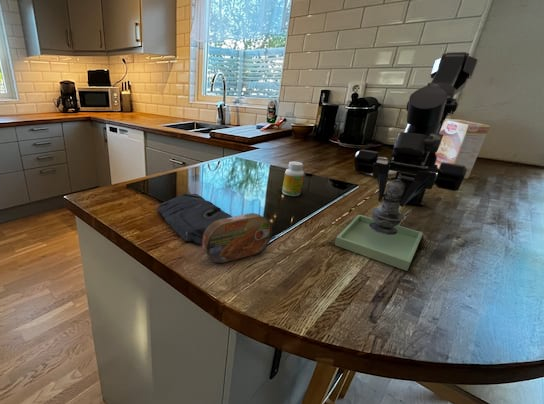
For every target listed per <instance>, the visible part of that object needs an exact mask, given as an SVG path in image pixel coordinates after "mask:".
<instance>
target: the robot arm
mask: <svg viewBox="0 0 544 404" xmlns="http://www.w3.org/2000/svg"><path fill="white" fill-rule="evenodd" d="M477 63H478V59H477V58H475V57H473V56H471V55H470V52H466V51H460V52H459V51H457V52H455V51H454V52H452V51H451V52H446V53H442V55H441V57H439V58H437V59H435V61H434V63H433V66H432V69H431V72H430V78H431V79H432V80H431V81H430V82H428V83H427V85H425V86H423V87H421V88H419V89H416V90H415V91H414V92H412V93H411V94H410V95H409V99H408V101H407V103H406V111H407V112H406V123H407V124H406V127H405V129H404V131H402V132H401V131H400V132H399V133H398V135H397V137H396V140H395V142H394V145H393V148H392V152H391V154H390V157H391V159H390V158H389V157H384V156H379V151H374V150H369V149H368V150H367V149H359V150H358V151H357V152H356V153H355V155H354V157H353V161H354V170H355V171H356V172H357V173H361V172H362V174H365V173H367V174H366V175H368V174H371V173H373V176H372V178H374V179H376V180H377V183H378V199H377V200H378V202H382V201H383V199H384V197H383V195H384V194H385V193H386V189H387V184H388V181H389V179H388V173H389V171H390V170H391V171H396V172H397V173H396V177H395V178H394V180H397V178H398V177H399V176H400V177H401V179H400V180H401V181H402V182H404V183H405V189H404V192H403V195H402V198H403V199H402V201H401V203H400V206H399V207H401V208H402V207H404V206H405V205H413V206H421V207H423V206H424V205H425V204H424V202H423V199H424V196H425V193H426V190H432V189H433V187H434V186H436V187H437V188H438V189H442V190H446V191H447V190H448V191H452V192H455V191H459V189H460V188H461V186H462V183H463V181H464V180H465V179H464V177H465V174H466V171H467V168H466V167H465V166H464V165H458V164H452V163H445V162H442V163H441V165H440V168H439V169H438V168H437V167H438V165H435V163H436V161H437V157H436V154H435V153H436V152H437V151H438V148H439V146H440V143H441V140H442V138H443V134H439V133H440V131H441V128H442V125H443V123H444V120H445V119H447V117H452V115H454V113H455V112H457V110H458V107H459V103H458V98H455V96H456V95H457V94H458V93H459V92H461V91H462V90H463V89H464V88H465V87H466V85H467V82H468V80H471V79H472V77H473V75H474V73H475V69H476V67H477Z"/></svg>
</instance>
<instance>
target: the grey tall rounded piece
mask: <svg viewBox="0 0 544 404" xmlns="http://www.w3.org/2000/svg"><path fill="white" fill-rule="evenodd" d="M400 179H401V177H400V176H399V177H398V178H397V180H395V179H393V180H390V181H389V182H388V183H387V184H388V185H387V186H386V190H385V193H384V195H383V198H382V201H381V202H382V203H381V204H380V207H375V208H372V209H371V213H372V214H371V218H373V220H374V221H375V222H374V223H370V224H369V227H370V228H371V229H372V230H374V231H376V232H379V233H382V234H387V235H394V234H397V232H398V231H397V229H396V228H394V226H397V225H398V226H399V224H401V223H402V221H403V220H404V219H405V216H404V214H403V213H400V212H399V209H400V207H401V206H400V204H401V201H402V199H403V198H402V195H403V192H404V189H405V183H404V182H402V181H401V180H400Z"/></svg>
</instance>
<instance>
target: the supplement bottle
mask: <svg viewBox="0 0 544 404" xmlns="http://www.w3.org/2000/svg"><path fill="white" fill-rule="evenodd" d="M303 167H304V163H303V162H300V161H289V162H288V168H286V170H285V172H284V175H283V177H284V178H283V184H282V189H281V192H282V194H283V195H286V196H288V197H298V196H300V195H301V193H302V192H301V191H302V187H303V180H304V175H305V172H304V170H302V169H303Z"/></svg>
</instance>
